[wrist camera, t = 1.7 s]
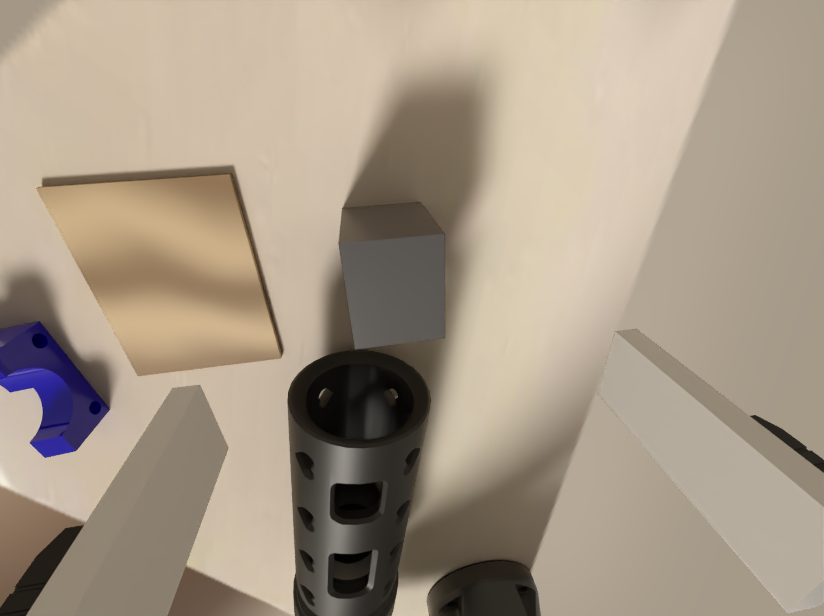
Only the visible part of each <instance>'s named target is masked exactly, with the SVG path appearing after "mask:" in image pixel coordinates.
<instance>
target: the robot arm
mask: <svg viewBox="0 0 824 616" xmlns="http://www.w3.org/2000/svg"><path fill="white" fill-rule="evenodd" d="M598 395H599V396H600V397H601V398H602V399H603V401H604V402H605V403H606V404H607V405H608V406H609V407H610V409H611V410H612V411H613V412H614V413H615V414H616V416H617V417H618V418H619V419H620V420H621V421H622V422H623V424H624V425H625V426H626V427H627V428H628V429H629V431H630V432H631V433H632V434H633V435H634V436H635V438H636V439H637V440H638V441H639V442H640V443H641V445H642V446H643V447H644V448H645V449H646V450H647V451H648V453H650V455H651V456H652V457H653V458H654V460H655V461H656V462H657V463H658V464H659V465H660V466H661V467H662V469H663V470H664V471H665V472H666V473H667V474H668V476H669V477H670V478H671V479H672V480H673V482H675V484H676V485H677V486H678V487H679V488H680V490H681V491H682V492H683V493H684V494H685V495H686V497H688V499H689V500H690V501H691V502H692V503H693V505H694V506H695V507H696V508H697V509H698V510H699V512H700V513H701V514H702V515H703V516H704V517H705V518H706V520H707V521H708V522H709V523H710V524H711V525H712V527H713V528H714V529H715V530H716V531H717V532H718V533H719V535H720V536H721V537H722V538H723V539H724V540H725V542H726V543H727V544H728V545H729V546H730V547H731V549H732V550H733V551H734V552H735V553H736V554H737V555H738V557H739V558H740V559H741V560H742V561H743V562H744V563H745V565H746V566H747V567H748V568H749V569H750V570H751V572H752V573H753V574H754V575H755V576H756V577H757V579H758V580H759V581H760V582H761V583H762V584H763V586H765V588H766V589H767V590H768V591H769V592H770V594H771V595H772V596H773V597H774V598H775V599H776V600H777V602H778V603H779V604H780V605H781V606H782V607H783V609H784V610H785V611H786V612H787V613H792V612H795V611H800V610H805V609H809V608H813V607H817V606H820V605H821V604H822V603H824V460H823V459H822V458H821V457H819V456H818V455H817V454H815V453H814V452H813V451H808V450H807V449H806V446H804V445H803V444H802V443H800V442H799V441H798V440H796V439H795V438H794V437H792V436H791V435H790V434H788V433H787V432H785V431H784V430H783V429H781V428H779V427H777V426H775V425H773V424H771V423H770V422H768V421H765V420H763V419H762V418H760V417H758V416H756V415H753V416H749V415H748V414H746V413H745V412H744V411H742V410H741V409H740V408H738V407H737V406H736V405H735V404H733V403H732V402H731V401H729V400H728V399H727V398H726V397H724V396H723V395H722V394H720V393H719V392H718V391H716V390H715V389H714V388H713V387H711V386H710V385H709V384H707V383H706V382H705V381H704V380H702V379H701V378H700V377H698V376H697V375H696V374H694V373H693V372H692V371H690V370H689V369H688V368H687V367H685V366H684V365H683V364H681V363H680V362H679V361H678V360H676V359H675V358H674V357H672V356H671V355H670V354H668V353H667V352H666V351H665V350H663V349H662V348H661V347H659V346H658V345H657V344H655V343H654V342H653V341H651V340H650V339H649V338H647V337H646V336H645V335H644V334H642V333H641V332H640V331H639V330H637V329H632V330H623V331H616V332H615V334H614V338H613V341H612V345H611V348H610V352H609V355H608V359H607V362H606V366H605V369H604V373H603V376H602V380H601V383H600V387H599V390H598ZM227 451H228V446H227V443H226V441H225V439H224V437H223V435H222V432H221V430H220V428H219V426H218V423H217V421H216V419H215V417H214V415H213V412H212V410H211V408H210V406H209V403H208V401H207V399H206V397H205V394H204V392H203V390H202V388H201V386H200V385H194V386H186V387H178V388H172V390H171V391H170V393H169V394H168V396H167V397H166V399H165V401H164V402H163V404H162V405H161V407H160V408H159V410H158V411H157V413H156V415H155V416H154V418H153V419H152V421H151V422H150V424H149V425H148V427H147V429H146V430H145V432H144V433H143V435H142V436H141V438H140V439H139V441H138V443H137V444H136V446H135V447H134V449H133V450H132V452H131V453H130V455H129V457H128V458H127V460H126V461H125V463H124V464H123V466H122V467H121V469H120V470H119V472H118V474H117V475H116V477H115V478H114V480H113V481H112V483H111V484H110V486H109V488H108V489H107V491H106V492H105V494H104V495H103V497H102V498H101V500H100V502H99V503H98V505H97V506H96V508H95V509H94V511H93V512H92V514H91V516H90V517H89V519H88V520H87V522H86V523H85V525H83V526H76V527H70V528H65V529H64V530H63V531H62V532H61V533H60V534H59V535H58V536H57V537H56V538H55V539H54V540H53V541H52V542H51V543H50V544H49V545H48V546H47V547H46V548H45V549H44V550H42V551H41V552H40V553H39V554H38V555H37V556H36V558H35V559H34V561H33V562H32V563H31V565H30V566H29V568H28V569H27V571H26V572H25V573H24V575H23V576H22V578H21V579H20V580H19V582H18V583H17V585H16V586H15V591H14V593H13V594H10V595H9V596H8V597H7V599H6V600H5V602H4V603H3V605H2V606H1V608H0V616H167V615H168V612H169V610H170V607H171V604H172V601H173V599H174V596H175V593H176V590H177V588H178V585H179V582H180V579H181V577H182V574H183V571H184V568H185V566H186V563H187V560H188V558H189V555H190V552H191V549H192V547H193V544H194V541H195V538H196V536H197V533H198V530H199V527H200V525H201V522H202V519H203V516H204V514H205V511H206V508H207V506H208V503H209V500H210V497H211V495H212V492H213V489H214V486H215V484H216V481H217V478H218V475H219V473H220V470H221V467H222V464H223V462H224V459H225V456H226V453H227ZM427 606H428V612H429V616H541V614H540V606H539V597H538V591H537V588H536V585H535V583H534V580H533V578H532V575H531V573H530V571H529V570H528V568H526V567H525V566H523V565H521V564H519V563H515V562H509V561H493V562H485V563H480V564H476V565H472V566H469V567H466V568H463V569H461V570H458V571H456V572H454V573H452V574H450V575H449V576H447V577H445V578H444V579H442V580H441V581H440V582H439V583H437V584H436V585H435V586H434V587H433V588H432V590H431V591H430V593H429V595H428V597H427Z"/></svg>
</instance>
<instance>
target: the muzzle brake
mask: <svg viewBox="0 0 824 616" xmlns="http://www.w3.org/2000/svg"><path fill="white" fill-rule="evenodd" d="M325 388H326V390H325V391H324V392H323V394H322V395H321V397H320V398H319V394H320V392H321V391H322V390H323V389H325ZM390 388H393V389H395V391H396V392H397V394H398V397H397V399H395V398H394V396H393V394H392V392H391V391H390ZM430 403H431V398H430V391H429V389H428V386H427V384H426V382H425V380H424V379H423V378H422V376H421V375H420V374H419V373H418V372H417V371H416V370H415V369H414V368H412V367H411V366H409V365H408V364H407V363H405V362H404V361H401V360H399V359H397V358H395V357H393V356H390V355H387V354H383V353H378V352H373V351H368V350H351V351H345V352H338V353H334V354H331V355H327V356H325V357H322V358H320V359H318V360H316V361H314V362H312V363H311V364H309V365H308V366H306V367H305V368H304V369H303V370H302V371H301V372H299V373H298V374H297V376H296V377H295V379H294V380H293V381H292V383H291V386H290V388H289V391H288V421H289V441H290V462H291V483H292V503H293V524H294V544H295V565H296V574H295V578H294V590H293V595H294V612H295V616H391V615H392V612H393V608H394V603H395V599H396V594H397V587H398V567H399V562H400V557H401V552H402V547H403V542H404V537H405V531H406V526H407V521H408V516H409V511H410V506H411V501H412V496H413V491H414V486H415V481H416V476H417V471H418V466H419V461H420V455H421V450H422V445H423V440H424V435H425V430H426V425H427V420H428V415H429V410H430Z"/></svg>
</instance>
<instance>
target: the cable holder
mask: <svg viewBox="0 0 824 616" xmlns="http://www.w3.org/2000/svg"><path fill="white" fill-rule="evenodd" d="M0 385H1V386H3V387H4V388H6V389H7V390H8V391H9V392H14V391H19V390H24V389H29V388H34V389H35V390H36V392H37V393H38V395H39V397H40V399H41V402H42V407H43V416H42V422H41V425H40V428H39V430H38V432H37V434H36V435H35V437H34V438H33V439H32V440H31V442H30V444H31V445H32V446H33V447H34V448H35V449H36V450H37V451H38V452H40V453H41V454H42V455H43V456H44V457H45V458H46V457H51V456H55V455H60V454H65V453H69V452H74V451H76V450H77V449H78V448H79V447H80V446H81V444H82V443H83V442H84V441H85V439H86V438H87V437H88V436H89V435H90V433H91V432H92V431H93V430H94V428H95V427H96V426H97V425H98V423H99V422H100V421H101V420H102V419H103V417H104V416H105V415H106V414H107V412H108V411H109V410H110V409H109V408H108V406H107V405H106V404H105V403H104V401H103V400H102V399H101V398H100V396H99V395H98V394H97V393H96V391H95V390H94V389H93V388H92V386H91V385H90V384H89V383H88V381H87V380H86V379H85V378H84V376H83V375H82V374H81V373H80V371H79V370H78V369H77V368H76V366H75V365H74V364H73V363H72V361H71V360H70V359H69V358H68V356H67V355H66V354H65V353H64V351H63V350H62V349H61V348H60V346H59V345H58V344H57V343H56V341H55V340H54V339H53V338H52V336H51V335H50V334H49V333H48V331H47V330H46V329H45V328H44V326H43V325H42V324H41V323H40V321H38V322H33V323H28V324H23V325H18V326H13V327H8V328H3V329H0Z"/></svg>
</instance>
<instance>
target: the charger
mask: <svg viewBox="0 0 824 616" xmlns="http://www.w3.org/2000/svg"><path fill="white" fill-rule="evenodd" d="M339 249H340V256H341V262H342V269H343V275H344V282H345V288H346V295H347V301H348V308H349V314H350V321H351V327H352V334H353V340H354V347H355V349H363V348H371V347H379V346H387V345H396V344H404V343H412V342H420V341H428V340H436V339H444V338H445V234H444V232H443V231H442V230H441V228H440V227H439V226H438V225H437V223H436V222H435V221H434V219H433V218H432V217H431V215H430V214H429V213H428V212H427V210H426V209H425V208H424V206H423V205H422V204H421V202H415V203H403V204H390V205H378V206H366V207H354V208H342V216H341V226H340V235H339Z"/></svg>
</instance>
